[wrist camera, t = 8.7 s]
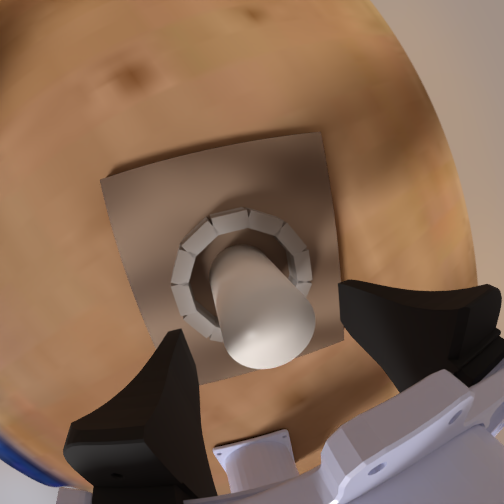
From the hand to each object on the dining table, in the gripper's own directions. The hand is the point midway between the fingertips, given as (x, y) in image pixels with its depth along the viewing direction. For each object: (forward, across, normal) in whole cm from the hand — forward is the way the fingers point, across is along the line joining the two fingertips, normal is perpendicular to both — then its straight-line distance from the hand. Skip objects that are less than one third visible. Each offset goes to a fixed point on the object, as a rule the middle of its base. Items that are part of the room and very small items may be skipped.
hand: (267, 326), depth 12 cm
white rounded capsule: (+6, 0, 0) cm, 6 cm away
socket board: (+7, 0, 0) cm, 7 cm away
